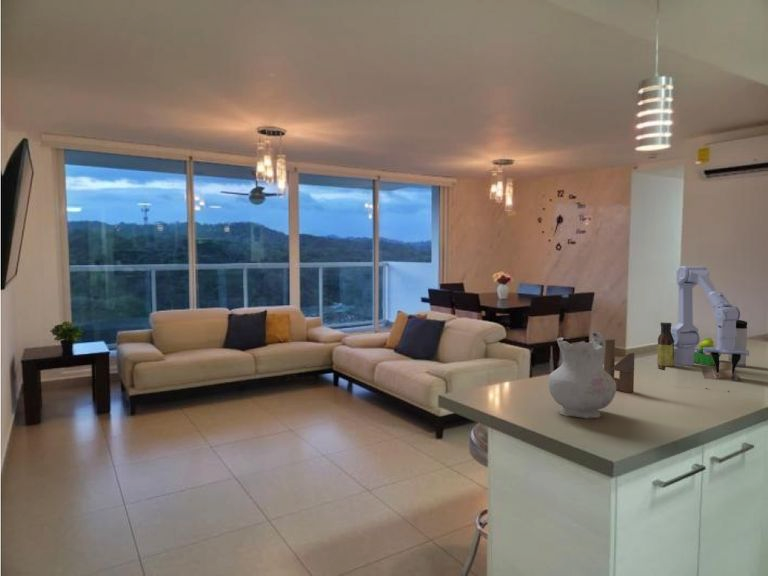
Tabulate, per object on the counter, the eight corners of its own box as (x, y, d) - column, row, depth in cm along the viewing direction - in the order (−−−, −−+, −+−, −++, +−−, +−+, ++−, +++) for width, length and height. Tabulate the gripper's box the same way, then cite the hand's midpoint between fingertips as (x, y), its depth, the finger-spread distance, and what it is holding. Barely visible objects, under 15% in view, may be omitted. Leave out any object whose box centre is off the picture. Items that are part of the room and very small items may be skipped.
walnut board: (703, 382, 191) (704, 376, 190) (700, 370, 210) (701, 364, 209) (742, 385, 185) (742, 379, 184) (735, 373, 204) (735, 367, 204)
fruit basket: (685, 361, 227) (686, 337, 226) (697, 359, 230) (698, 335, 230) (710, 366, 216) (711, 340, 216) (723, 364, 220) (724, 339, 219)
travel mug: (739, 363, 221) (741, 319, 220) (748, 367, 215) (750, 321, 213) (724, 363, 222) (726, 318, 221) (733, 366, 215) (735, 320, 214)
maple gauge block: (717, 377, 191) (717, 362, 191) (716, 374, 195) (716, 359, 195) (731, 379, 189) (732, 363, 188) (730, 376, 193) (730, 360, 193)
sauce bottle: (676, 370, 210) (677, 323, 208) (660, 370, 211) (661, 323, 209) (670, 367, 216) (671, 321, 215) (654, 366, 217) (655, 321, 216)
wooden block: (627, 393, 176) (629, 342, 175) (600, 386, 186) (601, 338, 184) (634, 391, 178) (635, 341, 177) (606, 385, 188) (607, 337, 186)
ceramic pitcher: (565, 402, 170) (560, 329, 170) (627, 408, 158) (622, 330, 157) (541, 419, 154) (535, 338, 153) (607, 427, 141) (602, 339, 141)
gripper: (704, 337, 191) (703, 372, 192) (751, 340, 184) (749, 377, 185) (703, 335, 197) (702, 369, 198) (748, 337, 190) (747, 373, 191)
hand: (724, 372), depth 192 cm, fingers closed on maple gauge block, 4 cm apart
